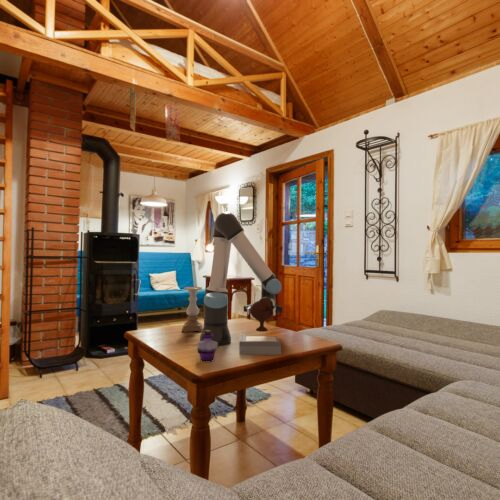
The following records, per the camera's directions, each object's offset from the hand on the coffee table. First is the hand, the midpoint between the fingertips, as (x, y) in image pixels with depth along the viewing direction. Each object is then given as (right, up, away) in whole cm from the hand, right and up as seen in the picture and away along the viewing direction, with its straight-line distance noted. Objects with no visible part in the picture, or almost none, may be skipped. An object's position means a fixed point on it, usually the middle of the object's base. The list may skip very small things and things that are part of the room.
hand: (260, 312), depth 156 cm
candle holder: (-37, -17, +39) cm, 57 cm away
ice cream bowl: (+1, -9, +4) cm, 10 cm away
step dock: (-1, -17, +3) cm, 17 cm away
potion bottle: (-22, -17, -15) cm, 32 cm away
